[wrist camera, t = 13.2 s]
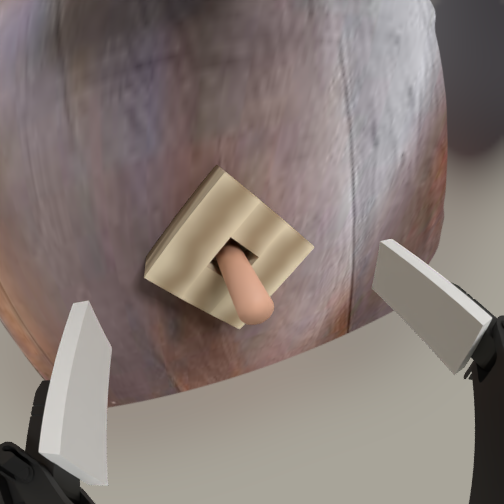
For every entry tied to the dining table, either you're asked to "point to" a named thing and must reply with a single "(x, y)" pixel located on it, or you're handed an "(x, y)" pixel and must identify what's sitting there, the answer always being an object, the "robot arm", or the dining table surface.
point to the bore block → (214, 238)
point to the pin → (244, 285)
